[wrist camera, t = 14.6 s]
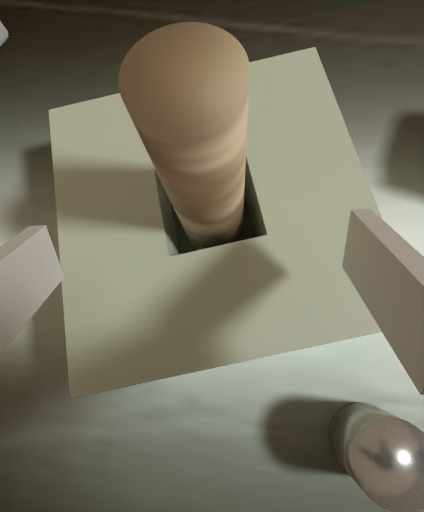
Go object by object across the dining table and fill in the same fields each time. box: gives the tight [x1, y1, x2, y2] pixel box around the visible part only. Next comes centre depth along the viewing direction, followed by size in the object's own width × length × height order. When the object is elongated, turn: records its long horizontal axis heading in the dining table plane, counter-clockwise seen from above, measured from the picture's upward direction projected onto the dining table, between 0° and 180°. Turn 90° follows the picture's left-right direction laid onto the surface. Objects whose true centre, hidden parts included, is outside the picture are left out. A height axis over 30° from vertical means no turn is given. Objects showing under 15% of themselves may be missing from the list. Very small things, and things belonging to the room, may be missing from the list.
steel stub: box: [329, 402, 424, 512], centre depth 17 cm, size 4×4×4 cm
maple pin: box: [118, 22, 250, 251], centre depth 16 cm, size 4×4×14 cm
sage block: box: [49, 47, 382, 398], centre depth 20 cm, size 18×18×5 cm
